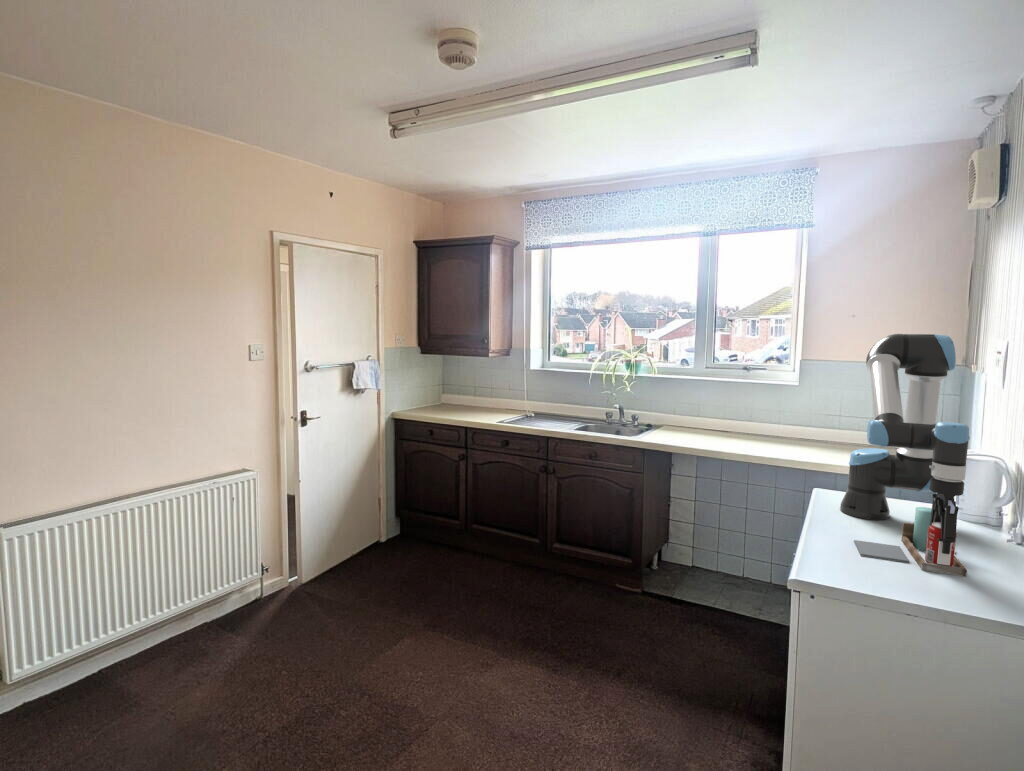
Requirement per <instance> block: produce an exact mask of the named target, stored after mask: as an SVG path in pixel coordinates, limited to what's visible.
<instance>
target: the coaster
mask: <svg viewBox="0 0 1024 771" xmlns="http://www.w3.org/2000/svg"><path fill="white" fill-rule="evenodd" d="M853 543H854V545H855V547H856V549H857V551H858V554H859V555H860V556H861V557H867V558H873V559H881V560H887V561H892V562H893V561H895V562H900V563H906V564H907V563H908V564H909V563H910V559H909V558H908V556H907V555H906V554H905V552H904V551H903V549H902V548H901V547H900V545H893V544H886V543H878V542H871V541H865V540H864V541H863V540H857V539H854V540H853Z"/></svg>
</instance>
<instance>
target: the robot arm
mask: <svg viewBox="0 0 1024 771" xmlns="http://www.w3.org/2000/svg"><path fill="white" fill-rule="evenodd" d="M956 360H957V358H956V348H955V344H954V340H953V339H952V337H950V335H946V334H945V335H944V334H936V333H934V334H933V333H931V334H930V333H928V334H927V333H917V334H916V333H914V334H913V333H908V334H907V333H894V334H890V335H887V336H884V337H883V338H880V340H878V341H877V342H876V343H874V344H873V345H872V347H871V348H870V349H869V351H868V352H867V356H866V360H865V364H866V370H867V371H868V373H870V381H871V383H870V384H871V396H872V406H873V407H872V409H873V410H872V411H873V419H872V420H869V421H867V422H868V424H867V426H866V427H867V428H866V441H867V442H868V444H869V445H872V446H881V447H883V448H874V447H873V448H870V447H868V448H867V447H866V448H858V449H855V450H853V451H852V452H851V453H850V456H849V462H848V465H849V466H848V477H847V479H848V480H847V489H846V491H845V494H844V496H843V498H842V500H841V503H840V506H839V507H840V508H839V510H840V511H841V512H842V513H843V514H846V515H848V516H851V517H854V518H855V517H856V518H860V519H866V520H875V521H881V520H883V521H884V520H887V519H890V513H891V512H890V507H889V504H888V500H887V498H886V497H887V496H886V491H887V490H886V489H887V488H889V489H890V488H891V489H898V490H906V491H907V490H908V491H916V492H928V493H930V492H933V494H932V503H931V504H932V505H931V508H932V511H931V519H930V526H931V525H932V523H933V522H941V539H938V541H939V548H938V558H937V563H938V564H943V565H950V559H951V548H952V543H953V542H954V543H955V541H956V542H957V535H956V533H957V525H958V524H957V523H958V513H959V509H960V508H959V506H957V502H956V501H955V497H956V496H958V497H959V496H962V495H964V490H965V482H964V480H965V479H966V474H967V473H966V471H967V457H968V448H969V440H970V439H971V438H970V427H969V426H968V425H967V424H965V423H961V422H954V421H951V422H950V421H939V422H937V417H938V416H937V415H938V408H939V400H940V399H939V398H940V390H941V381H942V380H943V379H945V378H946V377H947V376H948V373H949V372H951V371H954V369H955V368H956V364H957V363H956V362H957V361H956ZM900 369H905V370H904V375H905V376H906V377H908V379H909V381H908V392H907V400H906V410H905V416H904V413H903V405H902V396H901V387H900V378H899V372H898V371H899V370H900ZM948 371H949V372H948ZM884 447H889V448H890V447H893V448H897V449H896V453H895V454H890V452H889V450H888V449H884Z"/></svg>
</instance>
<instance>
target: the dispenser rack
mask: <svg viewBox="0 0 1024 771" xmlns="http://www.w3.org/2000/svg"><path fill="white" fill-rule="evenodd" d="M913 533H914V523H911V522H903V523H902V531H901V542H902V544H903V545H904V547H905V548H906V549H907V551H908V552H909V554H910V555H911V557H912V558H913V560H914V561H915V562H916V564H917V566H919V568H920V570H921V571H926V572H927V571H928V572H932V573H933V572H934V573H939V574H946V575H953V576H959V577H967V572H968V569H967V568H966V567H965V565H963V563H962V562H961V561H960V560H959V559H958V557H956V556H955V555H954V561H953V566H946V565H939V564H932V563H927V562H926V561H925V558H923V557H922V555H921V554H920V553H919V550H917V549H916V548H915V547H914V546H913Z"/></svg>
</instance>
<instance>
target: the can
mask: <svg viewBox="0 0 1024 771" xmlns="http://www.w3.org/2000/svg"><path fill="white" fill-rule="evenodd" d="M931 511H932V507H925V506H918V507H915V513H914V523H913V524H914V533H913V543H912V544H913V546H914V547H915V548H916V550H917V551H920V552H925V553H926V546H927V537H928V528H929V527H930V519H931Z"/></svg>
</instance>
